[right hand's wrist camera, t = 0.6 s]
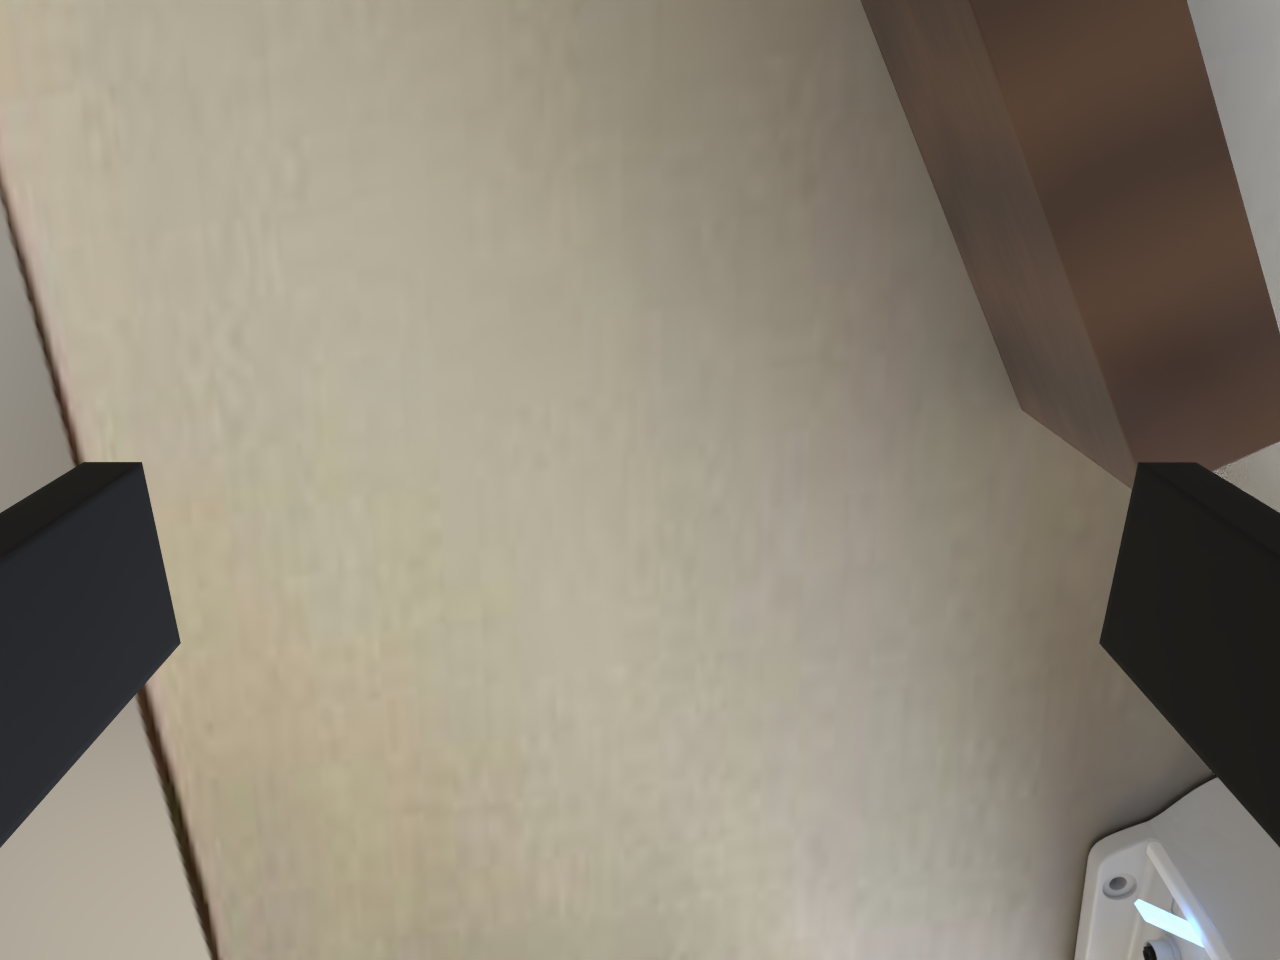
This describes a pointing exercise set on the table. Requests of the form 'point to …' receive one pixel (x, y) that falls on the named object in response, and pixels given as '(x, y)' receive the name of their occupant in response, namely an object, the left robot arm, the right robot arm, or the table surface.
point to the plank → (1095, 219)
